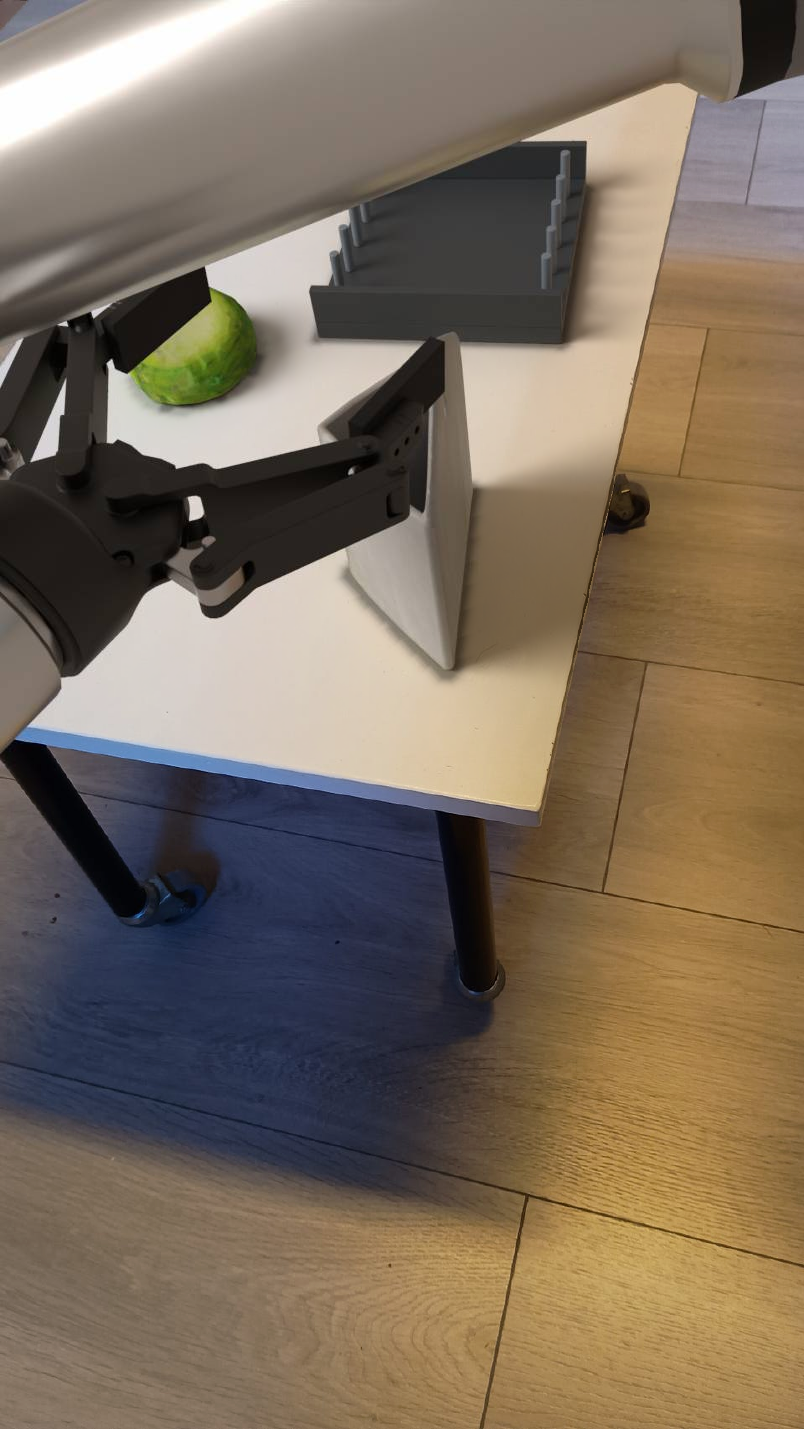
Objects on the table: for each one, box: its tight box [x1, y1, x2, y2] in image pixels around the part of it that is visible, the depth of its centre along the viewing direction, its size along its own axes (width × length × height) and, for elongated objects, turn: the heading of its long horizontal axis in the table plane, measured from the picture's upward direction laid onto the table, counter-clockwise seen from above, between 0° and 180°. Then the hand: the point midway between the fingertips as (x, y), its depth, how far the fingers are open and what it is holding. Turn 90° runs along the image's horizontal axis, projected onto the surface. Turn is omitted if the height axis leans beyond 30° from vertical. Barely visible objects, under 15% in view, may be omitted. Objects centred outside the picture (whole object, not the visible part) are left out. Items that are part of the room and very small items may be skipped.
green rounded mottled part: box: [128, 286, 258, 406], centre depth 90 cm, size 12×11×5 cm
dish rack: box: [308, 140, 588, 345], centre depth 93 cm, size 20×21×6 cm
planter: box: [316, 332, 474, 671], centre depth 69 cm, size 16×8×19 cm, turn 174°
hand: (315, 317), depth 52 cm, fingers open, 13 cm apart
